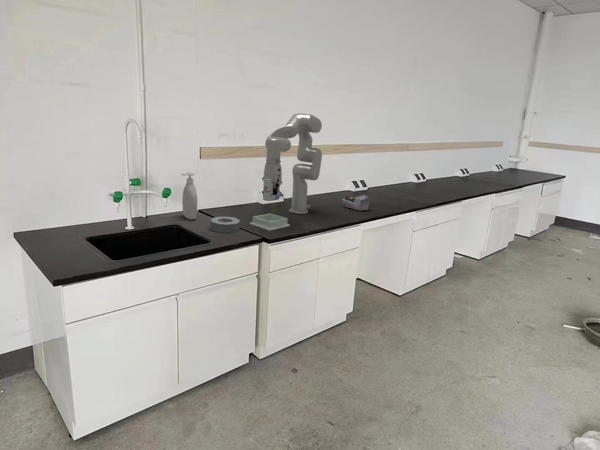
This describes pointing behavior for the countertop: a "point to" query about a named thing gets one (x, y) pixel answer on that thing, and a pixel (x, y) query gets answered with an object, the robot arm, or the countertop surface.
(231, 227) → the tape roll
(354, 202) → the cell model
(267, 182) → the ink box
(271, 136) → the robot arm
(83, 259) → the countertop surface
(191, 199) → the soap bottle
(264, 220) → the dock
